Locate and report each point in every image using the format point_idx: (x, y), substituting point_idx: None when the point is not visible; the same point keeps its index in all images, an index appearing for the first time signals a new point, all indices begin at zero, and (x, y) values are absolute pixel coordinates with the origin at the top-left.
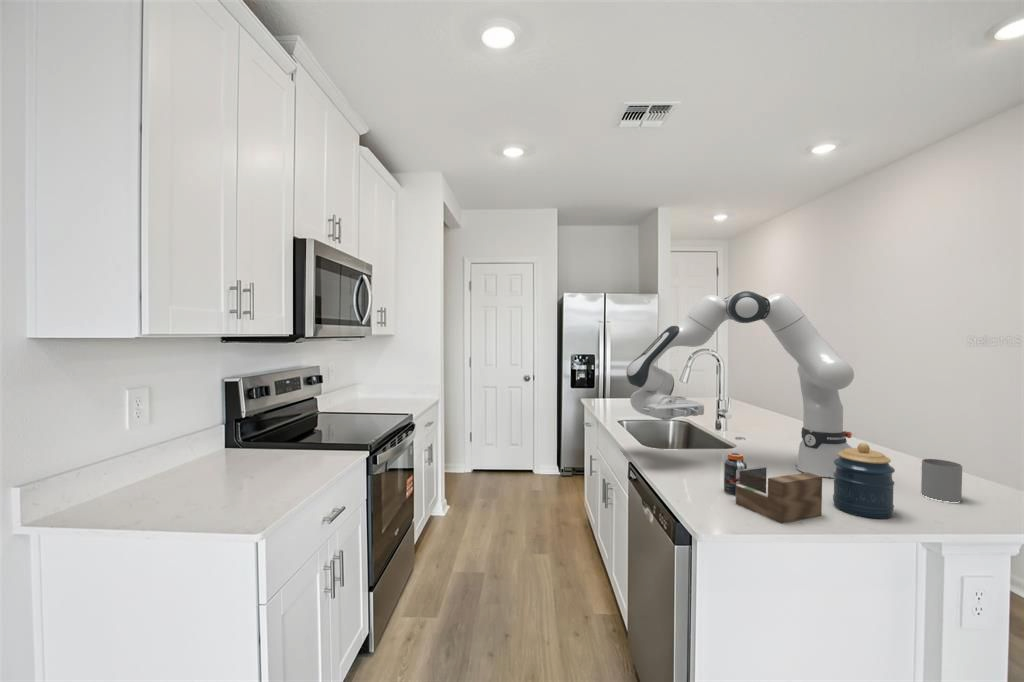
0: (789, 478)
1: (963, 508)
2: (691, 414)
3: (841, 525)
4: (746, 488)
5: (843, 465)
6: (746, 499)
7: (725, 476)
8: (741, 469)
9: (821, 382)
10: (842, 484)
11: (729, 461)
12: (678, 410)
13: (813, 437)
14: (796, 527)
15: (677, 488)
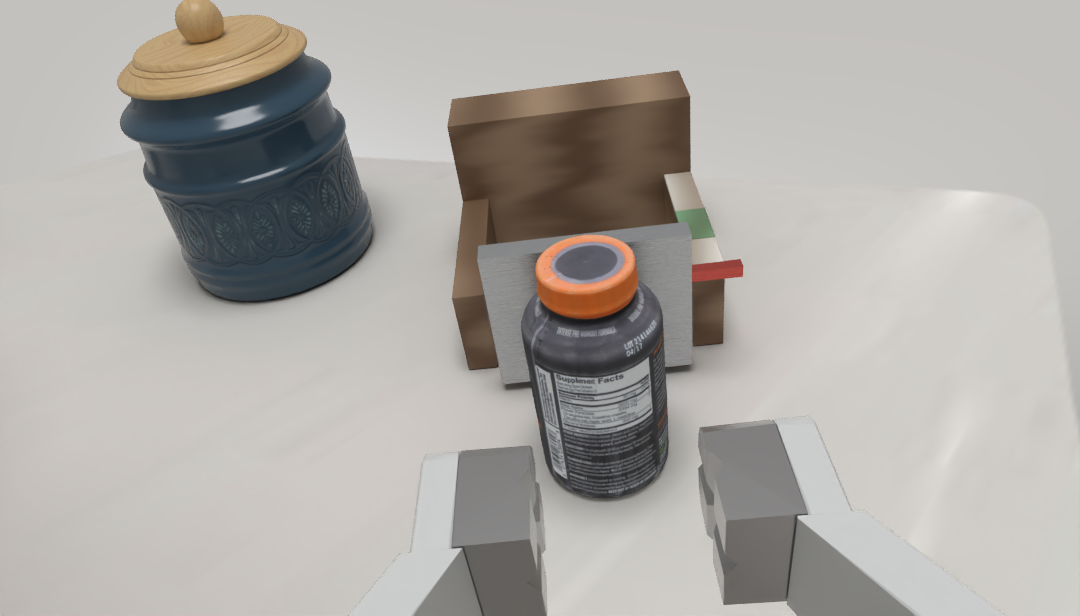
0: (601, 93)
1: (3, 227)
2: (543, 584)
3: None
4: (709, 229)
5: (316, 83)
6: None
7: (665, 387)
8: (652, 237)
9: None
10: (342, 157)
11: (640, 298)
12: (934, 569)
13: None
14: None
15: (976, 591)
